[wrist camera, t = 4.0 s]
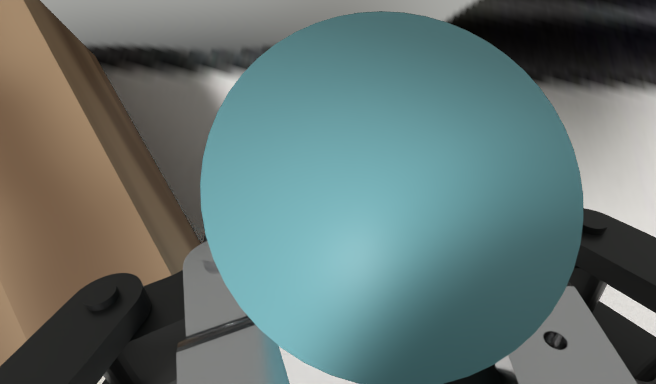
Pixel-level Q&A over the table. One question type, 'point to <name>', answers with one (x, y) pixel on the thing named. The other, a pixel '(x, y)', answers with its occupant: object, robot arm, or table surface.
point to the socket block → (71, 178)
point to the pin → (391, 199)
